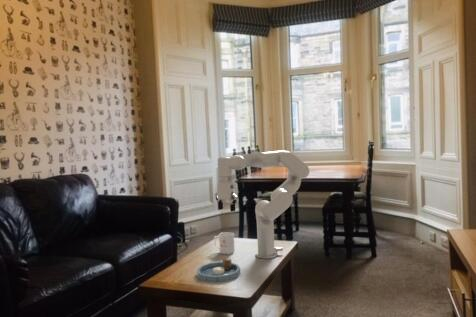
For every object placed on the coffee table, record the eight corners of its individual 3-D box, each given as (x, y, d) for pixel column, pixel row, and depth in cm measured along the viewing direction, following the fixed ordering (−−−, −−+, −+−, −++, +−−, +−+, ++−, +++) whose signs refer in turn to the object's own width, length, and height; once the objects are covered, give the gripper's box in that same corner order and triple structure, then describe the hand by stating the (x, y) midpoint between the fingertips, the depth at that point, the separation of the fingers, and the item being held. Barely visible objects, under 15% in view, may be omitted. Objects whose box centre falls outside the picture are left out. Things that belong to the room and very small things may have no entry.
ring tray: (233, 264, 218) (233, 259, 218) (244, 278, 197) (244, 273, 197) (194, 270, 212) (194, 264, 212) (201, 284, 192) (201, 279, 192)
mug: (236, 250, 243) (235, 232, 242) (232, 255, 235) (231, 236, 234) (217, 249, 246) (216, 231, 246) (212, 254, 238) (211, 235, 237)
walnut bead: (230, 267, 212) (230, 258, 212) (232, 270, 208) (232, 260, 207) (222, 268, 211) (221, 259, 210) (224, 271, 206) (223, 261, 206)
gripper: (241, 179, 219) (242, 210, 220) (219, 177, 231) (220, 207, 232) (231, 181, 214) (233, 213, 215) (209, 179, 226) (211, 209, 227)
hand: (226, 210), depth 224 cm, fingers open, 9 cm apart
